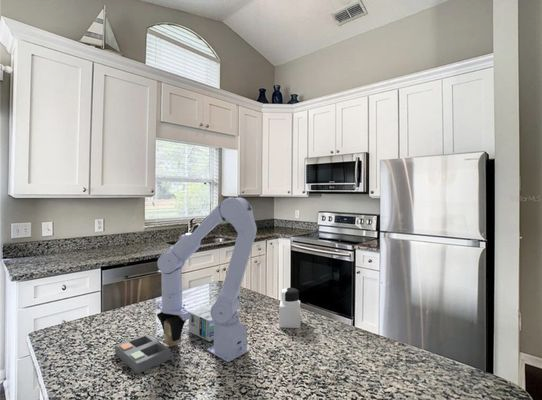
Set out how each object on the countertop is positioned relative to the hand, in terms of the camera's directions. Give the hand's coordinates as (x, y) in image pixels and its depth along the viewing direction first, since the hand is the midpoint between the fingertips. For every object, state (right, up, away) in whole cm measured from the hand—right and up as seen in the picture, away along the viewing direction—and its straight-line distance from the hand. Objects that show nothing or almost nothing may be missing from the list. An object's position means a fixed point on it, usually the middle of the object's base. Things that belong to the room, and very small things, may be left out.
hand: (172, 337), depth 87 cm
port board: (-6, -3, -6) cm, 9 cm away
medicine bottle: (+36, -2, +15) cm, 39 cm away
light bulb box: (+5, +1, +13) cm, 14 cm away
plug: (0, -2, 0) cm, 2 cm away
